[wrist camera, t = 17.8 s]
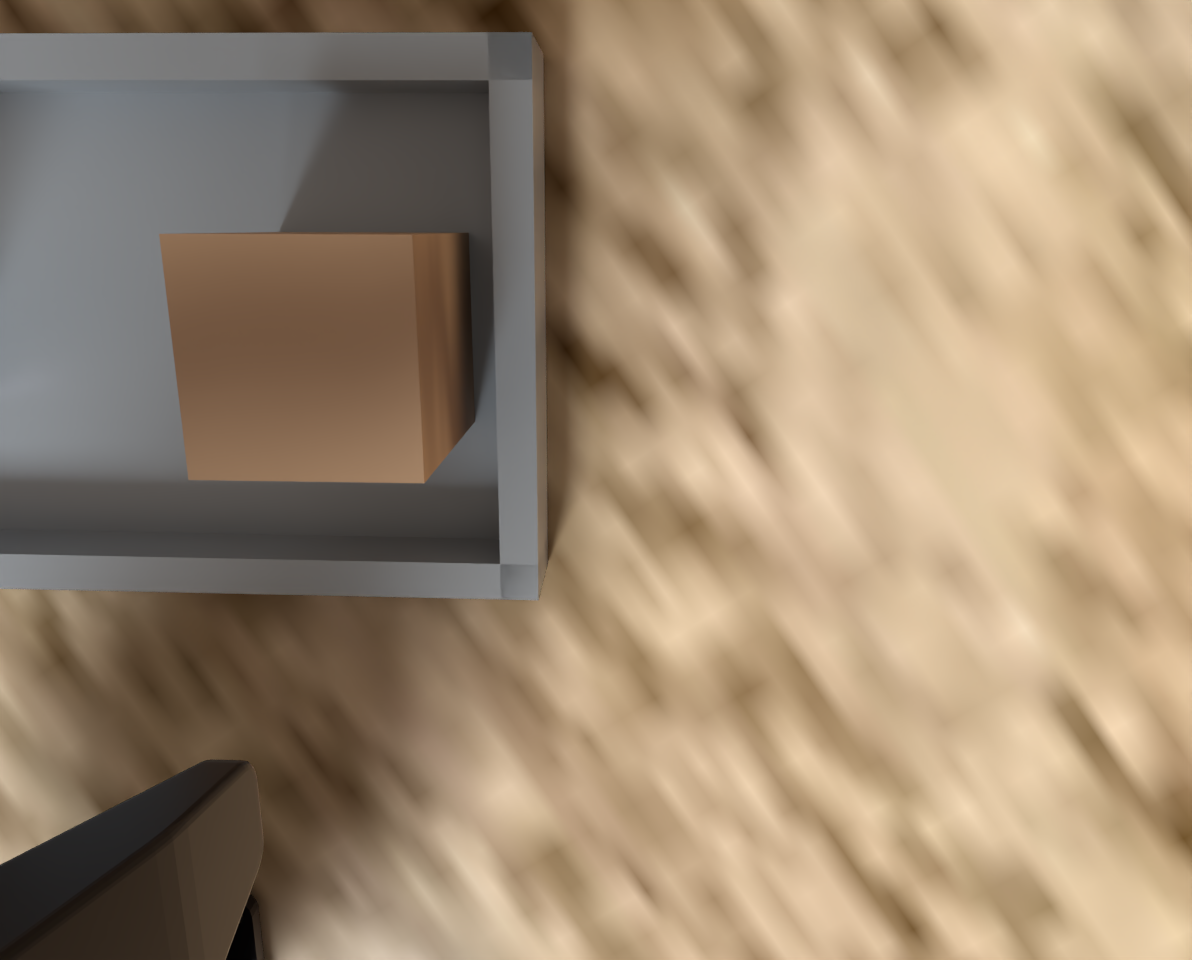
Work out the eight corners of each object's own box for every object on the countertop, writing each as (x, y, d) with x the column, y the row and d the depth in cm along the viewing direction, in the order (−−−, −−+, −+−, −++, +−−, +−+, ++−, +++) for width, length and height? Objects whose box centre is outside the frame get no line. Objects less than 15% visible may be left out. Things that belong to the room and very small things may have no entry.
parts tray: (548, 563, 22) (538, 600, 19) (-192, 548, 22) (-279, 582, 20) (543, 54, 19) (531, 32, 16) (-310, 55, 19) (-426, 34, 17)
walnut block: (474, 421, 20) (424, 483, 15) (294, 419, 20) (188, 480, 15) (468, 232, 19) (411, 234, 14) (278, 232, 19) (159, 234, 14)
